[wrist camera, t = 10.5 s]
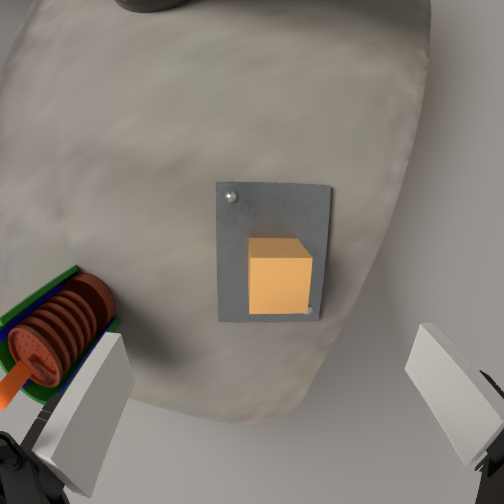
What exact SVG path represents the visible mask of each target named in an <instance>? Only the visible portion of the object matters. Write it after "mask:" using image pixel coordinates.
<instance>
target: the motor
mask: <svg viewBox="0 0 504 504" xmlns="http://www.w3.org/2000/svg"><path fill="white" fill-rule="evenodd" d="M77 270H78V267H77V265H75V266H73V267H71V268H70V269H68V270H66V271H65V272H63V273H62V274H60V275H59V276H57V277H56V278H54V279H53V280H51V281H50V282H48V283H47V284H45V285H44V286H43V287H41V288H40V289H38V290H37V291H35V292H34V293H33V294H31V295H30V296H28V297H27V298H26V299H24V300H23V301H21V302H20V303H19V304H17V305H16V306H15V307H13V308H12V309H11V310H9V311H8V312H7V313H5V314H4V315H3V316H1V317H0V365H1V367H2V368H3V370H4V371H5V373H6V374H7V375H6V376H5V377H4V379H3V380H2V381H1V382H0V408H1V409H2V410H3V411H4V410H5V408H6V407H7V406H8V404H9V403H10V402H11V401H12V399H13V397H14V396H15V395H16V394H17V392H18V391H19V390H21V391H22V392H24V393H25V394H26V395H27V396H29V397H30V398H32V399H33V400H35V401H36V402H38V403H41V404H43V405H45V404H46V402H47V401H48V399H50V398H51V397H52V396H53V395H55V394H56V393H57V392H59V393H62V394H65V392H66V390H67V389H68V387H69V386H70V384H71V383H72V381H73V380H74V378H75V376H76V375H77V373H78V372H79V370H80V369H81V367H82V366H83V364H84V363H85V361H86V360H87V358H88V357H89V356H90V354H91V353H92V351H93V350H94V348H95V347H96V345H97V344H98V342H99V341H100V340H101V338H102V337H103V335H104V334H105V333H106V332H109V333H113V332H114V330H115V329H116V327H117V326H118V325H119V323H120V321H121V320H119V319H118V318H116V319H115V320H112V322H111V323H110V324H109V325H108V326H107V328H104V327H105V326H106V325H107V324H108V322H109V321H110V320H111V319H112V317H113V315H114V310H115V304H114V299H113V296H112V294H111V292H110V290H109V288H108V287H107V286H106V284H105V283H104V282H103V281H102V280H100V279H99V278H98V277H96V276H94V275H92V274H88V273H81V274H78V275H76V276H74V277H73V278H72V279H70V280H69V281H68V280H67V279H68V277H69V276H70V275H71V274H73V273H74V272H76V271H77ZM88 299H91V301H92V302H89V300H88Z"/></svg>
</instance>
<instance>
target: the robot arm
mask: <svg viewBox="0 0 504 504" xmlns="http://www.w3.org/2000/svg"><path fill="white" fill-rule="evenodd" d="M115 1H116V3H117V4H118V5H119V6H121V7H122V8H124V9H127V10H130V11H134V12H153V11H160V10H164V9H168V8H172V7H175V6H178V5H181V4H183V3H186V2H188V1H190V0H115ZM405 371H406V372H407V374H408V375H409V377H410V378H411V380H412V381H413V383H414V384H415V386H416V387H417V389H418V390H419V392H420V393H421V395H422V396H423V398H424V400H425V401H426V403H427V404H428V406H429V408H430V409H431V411H432V412H433V414H434V415H435V417H436V419H437V420H438V422H439V424H440V425H441V427H442V428H443V430H444V432H445V433H446V435H447V437H448V438H449V440H450V442H451V444H452V445H453V447H454V449H455V450H456V452H457V454H458V456H459V457H460V459H461V460H462V462H463V464H464V466H467V465H469V464H470V463H472V462H474V461H476V460H477V459H478V458H479V457H480V456H481V455H482V454H483V453H484V452H485V451H487V453H488V454H487V455H486V456H485V457H484V459H483V460H482V461H481V462H480V463H479V464H478V465H477V466H476V468H475V471H477V470H478V469H479V468H480V467H481V466H482V465H483V467H482V468H481V469H480V471H481V472H482V475H481V481H480V486H479V490H478V494H477V498H476V502H475V504H504V392H503V391H501V389H500V388H499V387H498V385H496V383H495V382H494V381H493V379H492V378H491V377H490V376H489V375H487V374H486V373H484V372H482V371H479V370H478V369H477V368H476V367H475V366H474V365H473V364H472V363H471V362H470V361H469V359H468V358H467V357H466V356H465V355H464V354H463V353H462V352H461V351H460V350H459V349H458V348H457V347H456V346H455V345H454V344H453V342H451V340H449V338H448V337H447V336H446V335H445V334H444V333H443V332H442V331H441V330H440V329H439V328H438V327H437V326H436V325H435V324H434V323H433V322H428V323H422V324H420V326H419V329H418V332H417V335H416V338H415V341H414V344H413V348H412V351H411V353H410V356H409V359H408V362H407V364H406V367H405ZM134 383H135V379H134V376H133V372H132V369H131V366H130V363H129V360H128V356H127V353H126V350H125V346H124V343H123V339H122V335H121V334H119V333H109V332H106V333H105V334H104V335H103V337H102V338H101V340H100V341H99V342H98V344H97V345H96V347H95V348H94V350H93V351H92V353H91V354H90V356H89V357H88V358H87V360H86V361H85V363H84V364H83V366H82V367H81V369H80V370H79V372H78V373H77V375H76V376H75V378H74V380H73V381H72V383H71V384H70V386H69V387H68V389H67V390H66V392H65V394H62V393H59V392H57V393H56V394H55V395H53V396H52V397H51V398H50V399H48V401H47V402H46V404H45V405H44V407H43V408H42V411H41V412H40V413H39V415H38V416H37V417H38V418H37V419H36V420H35V421H34V423H33V424H32V426H31V428H30V430H29V431H28V433H27V435H26V436H25V438H24V440H23V441H22V443H21V445H20V446H19V445H18V444H17V442H16V441H15V440H14V439H13V438H12V437H11V436H10V434H8V433H6V432H4V431H0V504H70V503H69V501H68V498H67V496H66V494H65V492H64V491H63V488H64V485H66V486H67V487H68V488H69V489H70V490H71V491H73V492H75V493H78V494H81V495H83V496H86V497H88V498H91V496H92V493H93V490H94V487H95V484H96V481H97V478H98V475H99V472H100V469H101V467H102V464H103V461H104V458H105V456H106V453H107V450H108V447H109V445H110V442H111V439H112V437H113V434H114V432H115V429H116V427H117V424H118V421H119V419H120V417H121V414H122V412H123V409H124V407H125V404H126V402H127V399H128V397H129V395H130V392H131V390H132V388H133V385H134Z"/></svg>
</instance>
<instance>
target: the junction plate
mask: <svg viewBox="0 0 504 504" xmlns="http://www.w3.org/2000/svg"><path fill="white" fill-rule="evenodd" d="M330 193H331V186H329V185H315V184H295V183H267V182H216V244H217V288H218V317H219V322H299V321H318V319H319V312H320V305H321V297H322V288H323V280H324V270H325V260H326V250H327V238H328V225H329V211H330ZM249 238H297V239H298V240H299V241H300V242H301V244H302V245H303V246H304V248H305V249H306V250H307V252H308V253H309V254H310V255H311V257H312V258H313V259H312V271H311V281H310V291H309V301H308V310H307V313H293V314H249V293H248V257H249Z"/></svg>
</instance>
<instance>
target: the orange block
mask: <svg viewBox="0 0 504 504" xmlns="http://www.w3.org/2000/svg"><path fill="white" fill-rule="evenodd" d="M312 259H313V258H312V257H311V255H310V254H309V253H308V252H307V250H306V249H305V248H304V246H303V245H302V244H301V242H300V241H299V240H298V239H297V238H249V257H248V293H249V314H293V313H307V310H308V301H309V291H310V281H311V271H312Z"/></svg>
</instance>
